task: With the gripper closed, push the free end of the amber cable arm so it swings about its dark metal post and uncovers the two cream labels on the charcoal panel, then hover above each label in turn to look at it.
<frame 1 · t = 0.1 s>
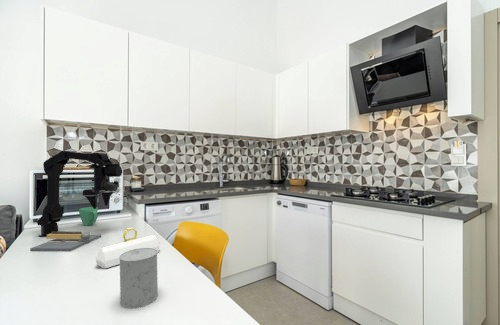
hand: (100, 207, 129), 15 cm above the table, tool pointing down, fingers open, 9 cm apart
cable arm: (69, 234, 117), point 4 cm above the table, hinge at 0.0°
white long bar: (130, 259, 98), on the table
mug: (90, 225, 150), on the table
grey concrete cylinder: (139, 299, 69), on the table
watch: (130, 240, 120), on the table
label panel: (68, 243, 117), on the table
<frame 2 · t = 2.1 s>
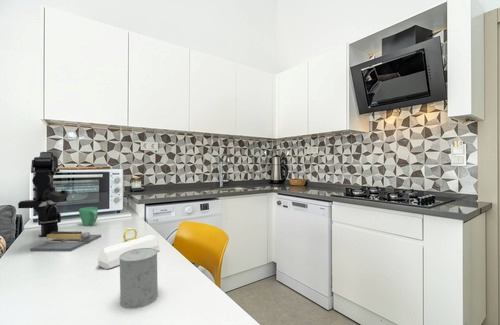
hand: (44, 220, 110), 12 cm above the table, tool pointing down, fingers closed
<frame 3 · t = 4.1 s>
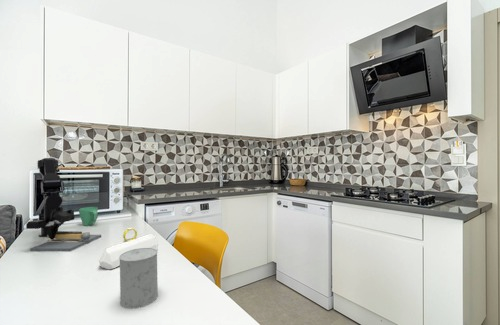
hand: (52, 239, 114), 3 cm above the table, tool pointing down, fingers closed
cable arm: (69, 234, 117), point 4 cm above the table, hinge at 1.3°, touching gripper
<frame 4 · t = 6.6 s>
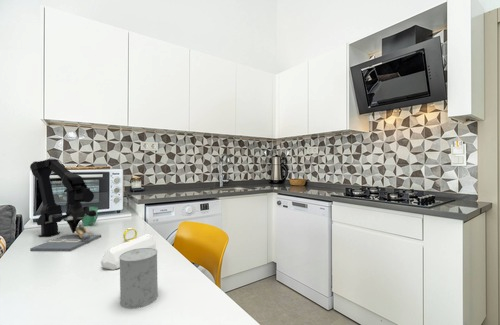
hand: (73, 232, 124), 3 cm above the table, tool pointing down, fingers closed
cable arm: (82, 231, 122), point 4 cm above the table, hinge at 44.2°, touching gripper
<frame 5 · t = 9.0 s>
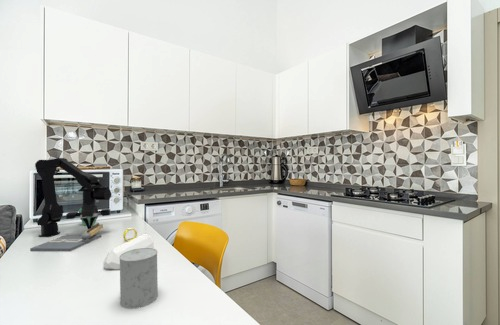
hand: (89, 230, 129), 3 cm above the table, tool pointing down, fingers closed
cable arm: (92, 230, 124), point 4 cm above the table, hinge at 73.2°
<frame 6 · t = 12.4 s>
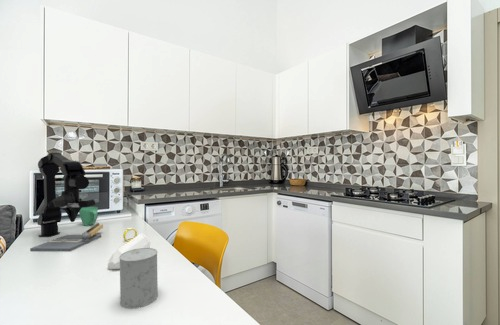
hand: (72, 221, 116), 10 cm above the table, tool pointing down, fingers closed
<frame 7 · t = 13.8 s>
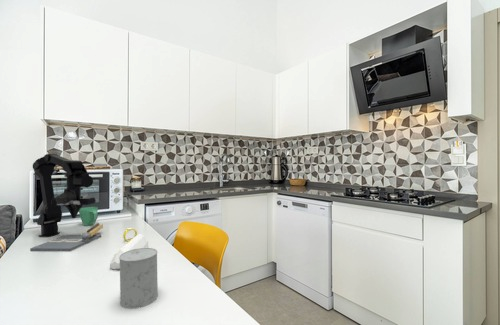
hand: (73, 218, 122), 11 cm above the table, tool pointing down, fingers closed
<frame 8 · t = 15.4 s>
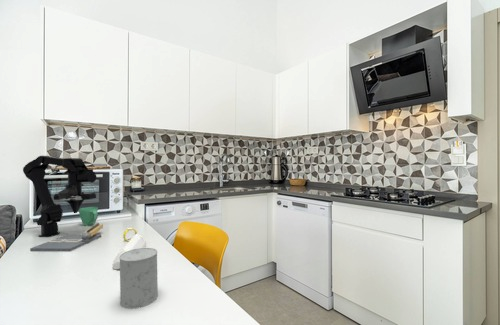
hand: (75, 213, 128), 12 cm above the table, tool pointing down, fingers closed
at the end: cable arm at +73° (first picture: +0°); mug moved 0.2 cm from its start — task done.
